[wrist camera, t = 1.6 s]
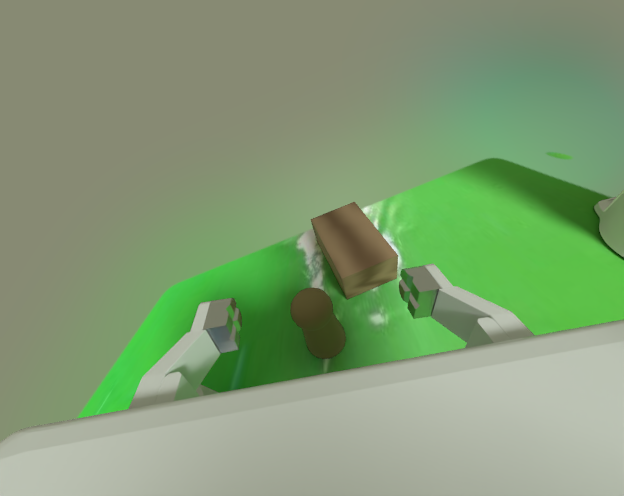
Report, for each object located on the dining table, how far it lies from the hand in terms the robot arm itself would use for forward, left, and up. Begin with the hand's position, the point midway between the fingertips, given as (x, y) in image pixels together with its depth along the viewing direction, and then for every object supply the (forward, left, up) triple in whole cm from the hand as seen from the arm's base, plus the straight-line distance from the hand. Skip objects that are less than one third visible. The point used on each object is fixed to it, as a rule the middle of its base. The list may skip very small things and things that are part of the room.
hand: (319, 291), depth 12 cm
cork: (+1, -9, -26) cm, 28 cm away
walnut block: (-9, -21, -26) cm, 35 cm away
